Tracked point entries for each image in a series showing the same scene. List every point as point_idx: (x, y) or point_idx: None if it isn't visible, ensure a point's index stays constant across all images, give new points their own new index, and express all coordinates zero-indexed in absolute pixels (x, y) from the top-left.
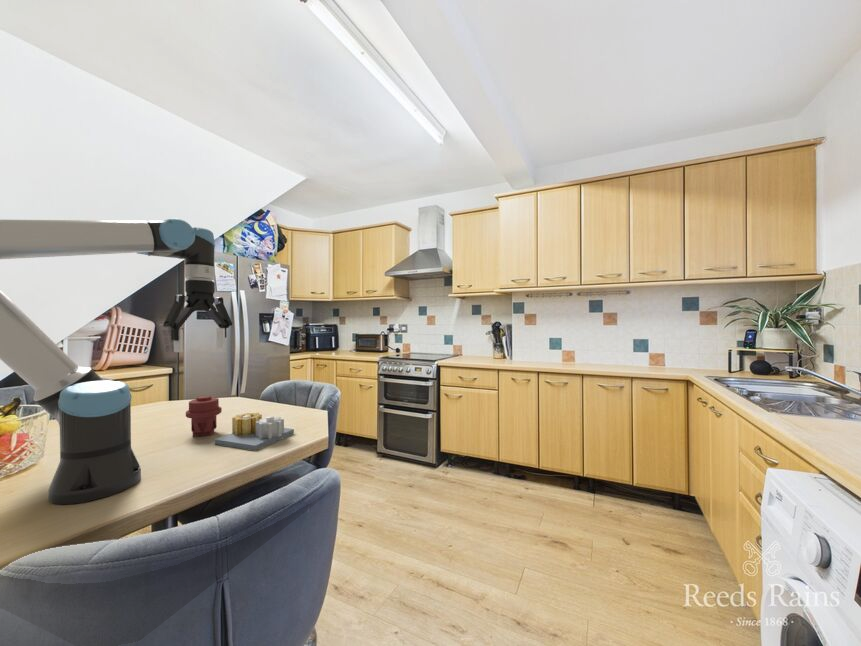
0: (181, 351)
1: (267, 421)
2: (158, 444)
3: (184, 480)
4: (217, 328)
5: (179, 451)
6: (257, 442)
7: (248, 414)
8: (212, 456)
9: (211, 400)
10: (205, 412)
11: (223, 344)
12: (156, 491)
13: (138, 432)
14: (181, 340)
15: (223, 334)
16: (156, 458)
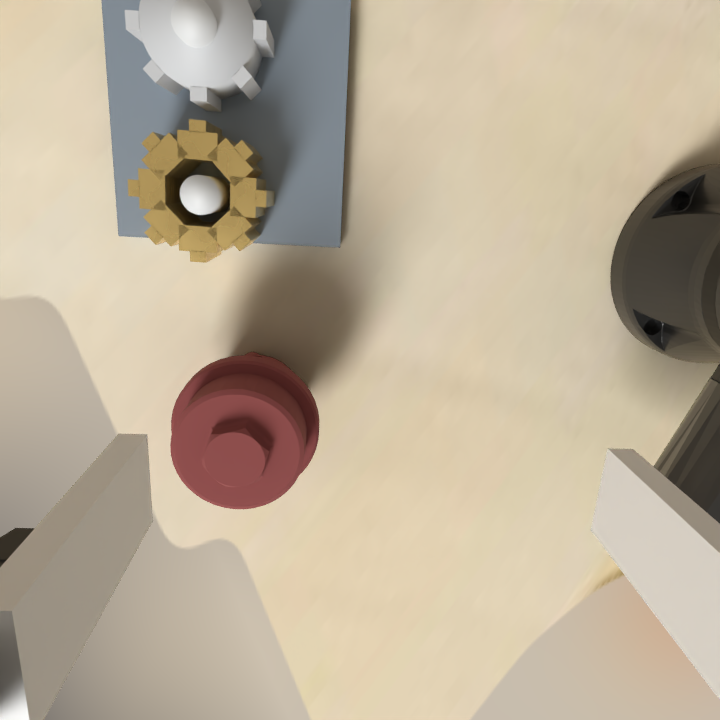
0: (625, 453)
1: (216, 23)
2: (396, 440)
3: (631, 44)
4: (32, 715)
5: (431, 306)
6: (316, 21)
7: (171, 213)
8: (441, 139)
9: (231, 408)
10: (283, 378)
11: (122, 456)
12: (707, 59)
13: (323, 615)
14: (694, 516)
15: (58, 533)
16: (499, 319)
